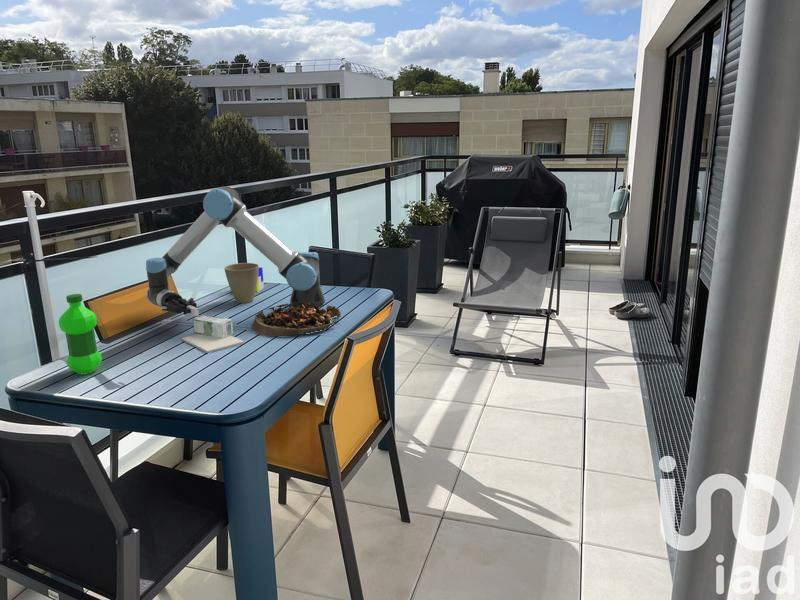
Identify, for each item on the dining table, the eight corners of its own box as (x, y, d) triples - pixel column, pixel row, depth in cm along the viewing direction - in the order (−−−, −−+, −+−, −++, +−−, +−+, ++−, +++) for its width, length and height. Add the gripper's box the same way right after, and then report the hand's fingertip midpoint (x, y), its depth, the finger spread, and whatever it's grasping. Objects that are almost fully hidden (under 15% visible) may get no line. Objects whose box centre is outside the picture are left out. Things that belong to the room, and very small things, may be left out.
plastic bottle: (94, 363, 201) (82, 289, 194) (109, 370, 194) (98, 294, 188) (62, 372, 193) (49, 296, 187) (77, 380, 187) (64, 301, 180)
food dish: (329, 310, 261) (328, 293, 259) (351, 334, 231) (351, 314, 229) (245, 318, 249) (244, 299, 246) (257, 344, 219) (256, 323, 217)
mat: (182, 340, 222) (182, 337, 222) (217, 331, 232) (217, 329, 231) (207, 353, 208) (207, 351, 208) (244, 343, 217) (244, 341, 217)
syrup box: (204, 329, 232) (234, 333, 226) (193, 333, 227) (223, 338, 221) (203, 314, 231) (233, 319, 224) (191, 318, 225) (222, 323, 219)
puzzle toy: (263, 287, 298) (262, 267, 296) (257, 292, 289) (255, 271, 286) (244, 287, 299) (242, 267, 297) (236, 292, 290) (235, 271, 287)
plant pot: (224, 299, 277) (221, 265, 273) (257, 295, 283) (254, 261, 279) (230, 307, 264) (227, 271, 260) (264, 302, 270) (262, 267, 266)
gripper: (186, 306, 247) (213, 318, 230) (154, 313, 238) (180, 325, 222) (184, 288, 245) (212, 299, 228) (152, 294, 236) (178, 306, 220)
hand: (196, 312), depth 225 cm, fingers closed
